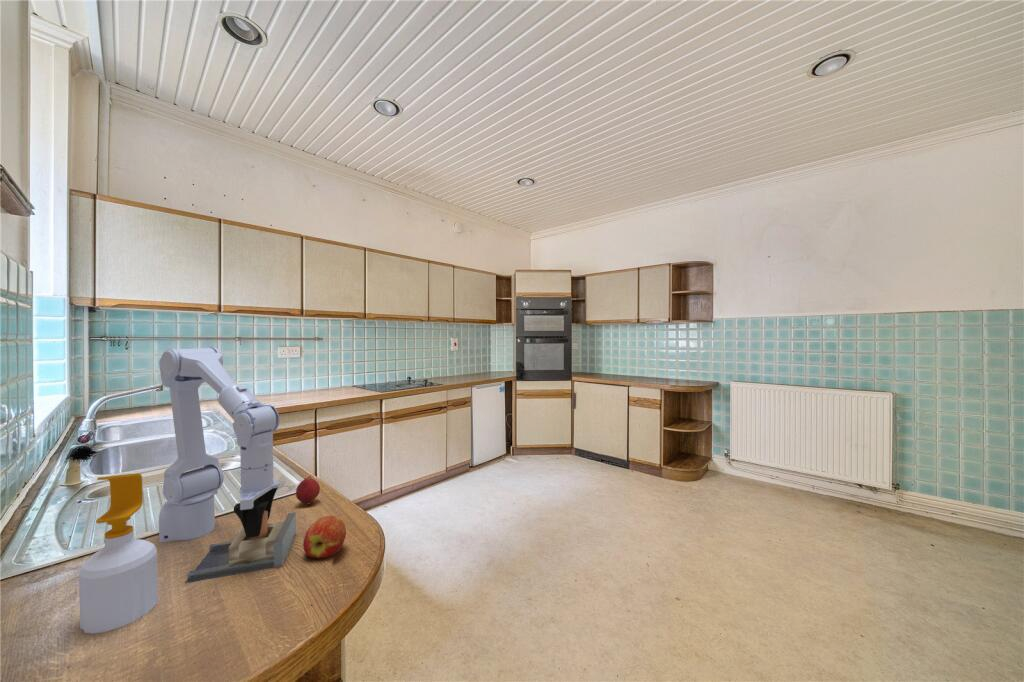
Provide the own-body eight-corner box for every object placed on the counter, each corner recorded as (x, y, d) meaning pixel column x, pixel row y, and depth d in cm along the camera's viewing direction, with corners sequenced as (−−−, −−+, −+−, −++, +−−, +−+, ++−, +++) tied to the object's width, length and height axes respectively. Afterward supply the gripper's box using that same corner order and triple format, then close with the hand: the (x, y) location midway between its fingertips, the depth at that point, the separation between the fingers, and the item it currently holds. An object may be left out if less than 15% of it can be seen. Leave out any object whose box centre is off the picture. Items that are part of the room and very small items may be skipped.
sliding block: (229, 567, 76) (228, 547, 75) (242, 545, 83) (242, 527, 83) (275, 559, 78) (275, 540, 78) (284, 539, 86) (284, 521, 86)
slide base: (184, 588, 71) (184, 556, 71) (213, 550, 84) (213, 523, 83) (282, 571, 76) (282, 541, 76) (296, 537, 89) (295, 512, 89)
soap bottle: (66, 647, 58) (61, 487, 57) (101, 607, 66) (97, 467, 66) (142, 629, 62) (139, 478, 61) (167, 593, 70) (164, 460, 69)
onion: (309, 509, 103) (309, 480, 102) (291, 507, 104) (290, 478, 104) (324, 500, 108) (324, 472, 108) (306, 498, 109) (306, 471, 109)
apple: (297, 567, 78) (297, 528, 77) (315, 544, 86) (314, 509, 86) (338, 565, 78) (337, 527, 78) (351, 543, 87) (351, 508, 86)
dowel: (248, 551, 79) (249, 518, 79) (252, 544, 81) (252, 511, 81) (265, 548, 80) (266, 515, 80) (268, 541, 83) (269, 509, 82)
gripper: (269, 474, 75) (270, 543, 75) (286, 452, 88) (287, 510, 89) (226, 479, 72) (228, 549, 73) (251, 455, 86) (252, 514, 86)
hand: (258, 528), depth 81 cm, fingers open, 6 cm apart
